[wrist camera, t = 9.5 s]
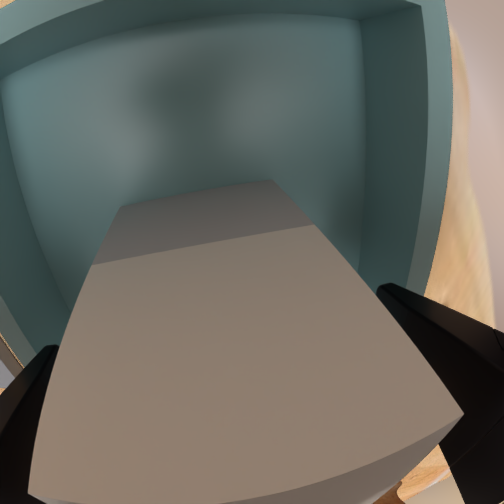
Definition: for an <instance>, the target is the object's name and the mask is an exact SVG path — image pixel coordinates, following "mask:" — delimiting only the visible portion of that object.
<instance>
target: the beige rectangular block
mask: <svg viewBox="0 0 504 504" xmlns="http://www.w3.org/2000/svg"><path fill="white" fill-rule="evenodd" d="M463 415H464V413H463V411H462V410H461V408H460V407H459V405H458V404H457V403H456V401H455V400H454V398H453V397H452V395H451V394H450V392H449V391H448V390H447V388H446V387H445V385H444V384H443V383H442V381H441V380H440V378H439V377H438V376H437V374H436V373H435V371H434V370H433V369H432V367H431V366H430V365H429V363H428V362H427V360H426V359H425V358H424V356H423V355H422V354H421V352H420V351H419V350H418V348H417V347H416V346H415V345H414V343H413V342H412V341H411V339H410V338H409V337H408V335H407V334H406V333H405V331H404V330H403V329H402V328H401V326H400V325H399V324H398V323H397V321H396V320H395V319H394V317H393V316H392V315H391V314H390V312H389V311H388V310H387V309H386V307H385V306H384V305H383V304H382V303H381V301H380V300H379V299H378V298H377V296H376V295H375V294H374V293H373V291H372V290H371V289H370V288H369V287H368V285H367V284H366V283H365V282H364V281H363V279H362V278H361V277H360V276H359V275H358V274H357V272H356V271H355V270H354V269H353V268H352V266H351V265H350V264H349V263H348V262H347V261H346V259H345V258H344V257H343V256H342V255H341V254H340V253H339V251H338V250H337V249H336V248H335V247H334V246H333V245H332V243H331V242H330V241H329V240H328V239H327V238H326V237H325V236H324V234H323V233H322V232H321V231H320V230H319V229H318V228H317V227H316V225H315V224H314V223H313V222H312V221H311V220H310V219H309V218H308V217H307V216H306V214H305V213H304V212H303V211H302V210H301V209H300V208H299V207H298V206H297V205H296V204H295V203H294V202H293V200H292V199H291V198H290V197H289V196H288V195H287V194H286V193H285V192H284V191H283V190H282V189H281V188H280V187H279V186H278V185H277V184H276V183H275V181H274V180H273V179H271V180H264V181H257V182H250V183H244V184H237V185H231V186H225V187H219V188H213V189H207V190H201V191H196V192H190V193H185V194H179V195H174V196H169V197H164V198H159V199H154V200H149V201H144V202H140V203H135V204H130V205H126V206H121V207H120V208H119V210H118V211H117V213H116V215H115V217H114V219H113V221H112V223H111V225H110V227H109V229H108V231H107V233H106V235H105V237H104V239H103V241H102V243H101V246H100V248H99V250H98V252H97V254H96V256H95V258H94V261H93V263H92V265H91V267H90V270H89V272H88V274H87V276H86V279H85V281H84V284H83V286H82V288H81V291H80V293H79V296H78V298H77V301H76V303H75V306H74V308H73V311H72V314H71V316H70V319H69V322H68V324H67V327H66V330H65V333H64V336H63V339H62V342H61V345H60V348H59V351H58V354H57V357H56V360H55V363H54V367H53V370H52V373H51V377H50V380H49V384H48V388H47V391H46V395H45V399H44V403H43V407H42V411H41V416H40V420H39V425H38V429H37V434H36V440H35V445H34V451H33V457H32V463H31V470H30V478H29V486H28V494H30V495H32V496H34V497H35V498H37V499H39V500H41V501H43V502H45V503H47V504H372V503H373V502H375V501H376V500H377V499H379V498H380V497H381V496H382V495H384V494H385V493H386V492H387V491H388V490H390V489H391V488H392V487H393V486H394V485H396V484H397V483H398V482H399V481H400V480H401V479H402V478H404V477H405V476H406V475H407V474H408V473H409V472H410V471H411V470H412V469H413V468H415V467H416V466H417V465H418V464H419V463H420V462H421V461H422V460H423V459H424V458H425V457H426V456H427V455H428V454H429V453H430V452H431V451H432V450H433V449H434V448H435V447H436V446H437V444H438V443H439V442H440V441H441V440H442V439H443V438H444V437H445V436H446V435H447V434H448V432H449V431H450V430H451V429H452V428H453V427H454V426H455V424H456V423H457V422H458V421H459V420H460V418H461V417H462V416H463Z"/></svg>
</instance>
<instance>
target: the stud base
mask: <svg viewBox="0 0 504 504" xmlns="http://www.w3.org/2000/svg"><path fill="white" fill-rule="evenodd" d="M22 370H23V369H22V367H21V366H20V365H19V363H18V362H17V361H16V359H15V358H14V357H13V355H12V354H11V352H10V351H9V349H8V348H7V347H6V345H5V344H4V342H3V341H2V339H1V338H0V388H7V387H8V386H9V384H10V383H11V382H12V381H13V380H14V379H15V378H16V376H17V375H18V374H19V373H20V372H21V371H22Z"/></svg>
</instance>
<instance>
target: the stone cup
mask: <svg viewBox="0 0 504 504" xmlns="http://www.w3.org/2000/svg"><path fill="white" fill-rule="evenodd" d="M401 484H402V482H401V481H399V482H398V483H397V484H396V485H394V486H393V487H392V488H391V489H390V490H388V491H387V492H386V493H385V494H384V495H382V496H381V497H380V498H379V499H377V500H376V501H375V502H373V503H372V504H405V503H404V502H403V501H402V500H401V499H400V498H399V497H398V495H397V490H398V488H399V487H400V486H401Z"/></svg>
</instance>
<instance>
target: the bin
mask: <svg viewBox="0 0 504 504" xmlns="http://www.w3.org/2000/svg"><path fill="white" fill-rule="evenodd" d="M452 113H453V83H452V59H451V46H450V36H449V27H448V19H447V12H446V6H445V0H15V1H14V2H12V3H10V4H8V5H6V6H5V7H3V8H1V9H0V333H1V334H2V336H3V337H4V339H5V340H6V342H7V343H8V345H9V346H10V348H11V349H12V351H13V352H14V353H15V355H16V356H17V358H18V359H19V360H20V362H21V363H22V364H23V366H24V367H26V366H27V364H28V363H29V362H30V361H31V360H32V359H33V358H34V357H35V356H36V355H37V354H38V353H39V352H40V351H41V349H42V348H43V347H44V346H46V345H53V344H57V345H59V346H60V345H61V342H62V339H63V336H64V333H65V330H66V327H67V324H68V322H69V319H70V316H71V314H72V311H73V308H74V306H75V303H76V301H77V298H78V296H79V293H80V291H81V288H82V286H83V284H84V281H85V279H86V276H87V274H88V272H89V270H90V267H91V265H92V263H93V261H94V258H95V256H96V254H97V252H98V250H99V248H100V246H101V243H102V241H103V239H104V237H105V235H106V233H107V231H108V229H109V227H110V225H111V223H112V221H113V219H114V217H115V215H116V213H117V211H118V210H119V208H120V207H121V206H126V205H130V204H135V203H140V202H144V201H149V200H154V199H159V198H164V197H169V196H174V195H179V194H185V193H190V192H196V191H201V190H207V189H213V188H219V187H225V186H231V185H237V184H244V183H250V182H257V181H264V180H271V179H273V180H274V181H275V183H276V184H277V185H278V186H279V187H280V188H281V189H282V190H283V191H284V192H285V193H286V194H287V195H288V196H289V197H290V198H291V199H292V200H293V202H294V203H295V204H296V205H297V206H298V207H299V208H300V209H301V210H302V211H303V212H304V213H305V214H306V216H307V217H308V218H309V219H310V220H311V221H312V222H313V223H314V224H315V225H316V227H317V228H318V229H319V230H320V231H321V232H322V233H323V234H324V236H325V237H326V238H327V239H328V240H329V241H330V242H331V243H332V245H333V246H334V247H335V248H336V249H337V250H338V251H339V253H340V254H341V255H342V256H343V257H344V258H345V259H346V261H347V262H348V263H349V264H350V265H351V266H352V268H353V269H354V270H355V271H356V272H357V274H358V275H359V276H360V277H361V278H362V279H363V281H364V282H365V283H366V284H367V285H368V287H369V288H370V289H371V290H372V291H373V293H374V294H375V295H376V290H377V288H378V286H379V285H382V284H385V283H389V282H391V283H394V284H397V285H399V286H401V287H403V288H406V289H408V290H410V291H413V292H415V293H417V294H419V295H422V296H424V293H425V289H426V286H427V282H428V278H429V275H430V271H431V267H432V262H433V258H434V254H435V250H436V245H437V240H438V235H439V230H440V225H441V220H442V214H443V208H444V202H445V195H446V188H447V180H448V172H449V162H450V151H451V137H452Z"/></svg>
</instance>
